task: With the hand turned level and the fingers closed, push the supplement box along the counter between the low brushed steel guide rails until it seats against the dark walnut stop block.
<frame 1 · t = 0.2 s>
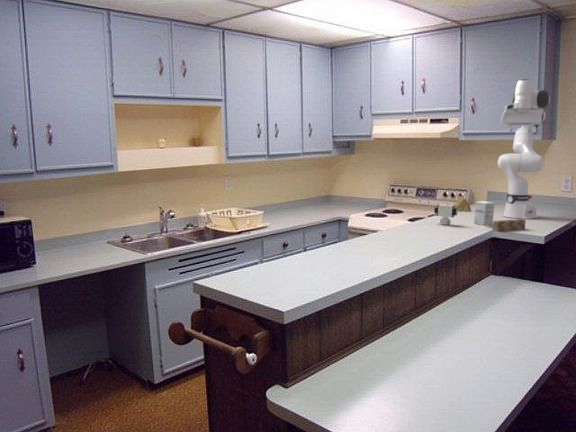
hand: (520, 132, 278), 52 cm above the table, tool tilted 20°, fingers open, 8 cm apart
rock: (462, 211, 340), on the table
walnut dock: (501, 227, 278), on the table
pneumatic valve: (445, 224, 287), on the table
supplement box: (483, 224, 290), on the table
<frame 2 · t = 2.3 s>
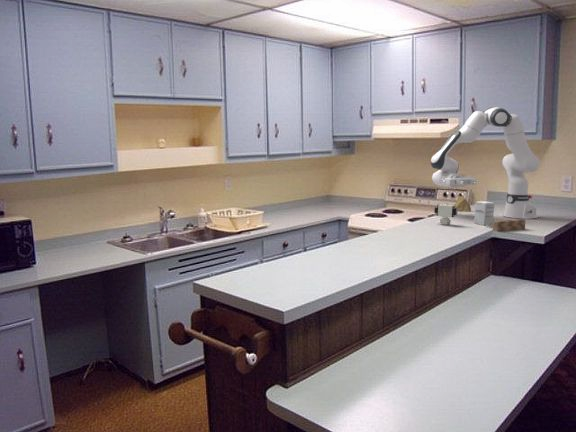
hand: (469, 182, 298), 22 cm above the table, tool horizontal, fingers open, 8 cm apart
nothing on the table moved.
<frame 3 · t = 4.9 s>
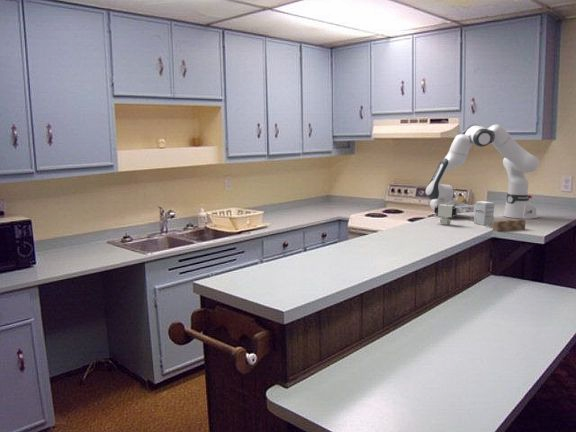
hand: (467, 211, 301), 6 cm above the table, tool horizontal, fingers closed
nothing on the table moved.
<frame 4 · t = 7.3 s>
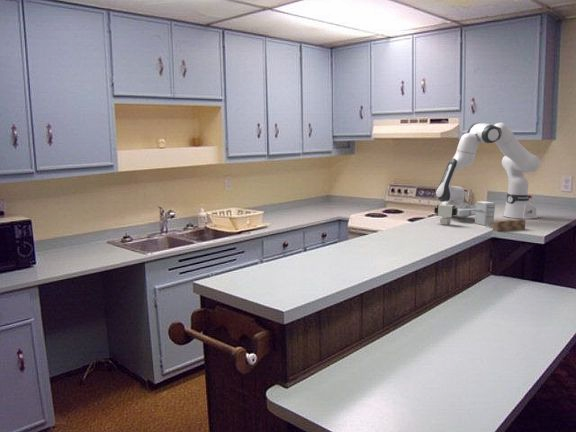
hand: (479, 213, 292), 5 cm above the table, tool horizontal, fingers closed
supplement box: (483, 224, 290), on the table, touching gripper
everything else where it was.
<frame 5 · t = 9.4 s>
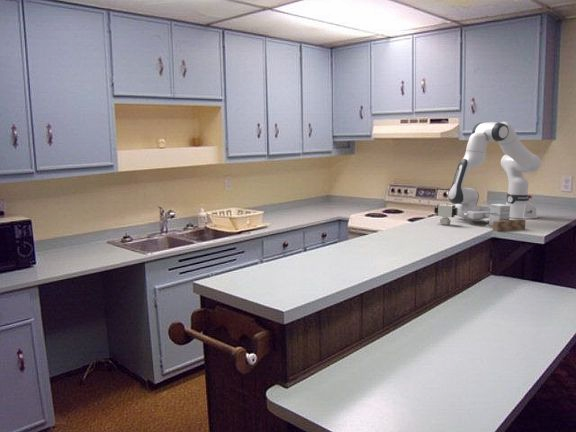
hand: (494, 216, 282), 6 cm above the table, tool horizontal, fingers closed, pressing on supplement box
supplement box: (498, 227, 280), on the table, touching gripper
everything else where it was.
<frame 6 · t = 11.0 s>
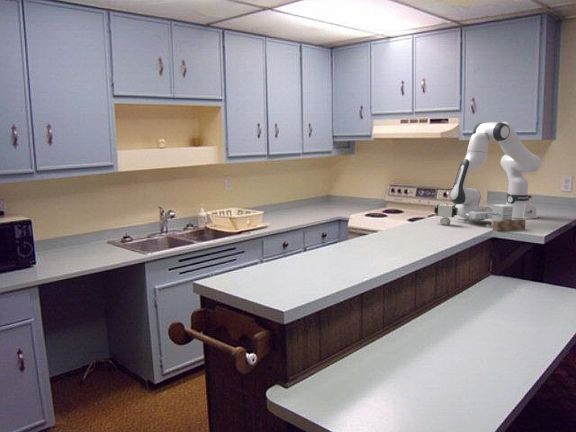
hand: (496, 216, 281), 6 cm above the table, tool horizontal, fingers closed
supplement box: (500, 228, 278), on the table
everything else where it was.
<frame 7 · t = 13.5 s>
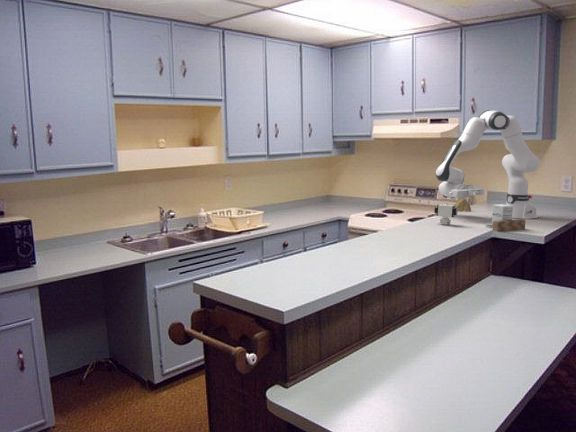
hand: (477, 193, 295), 16 cm above the table, tool horizontal, fingers closed
nothing on the table moved.
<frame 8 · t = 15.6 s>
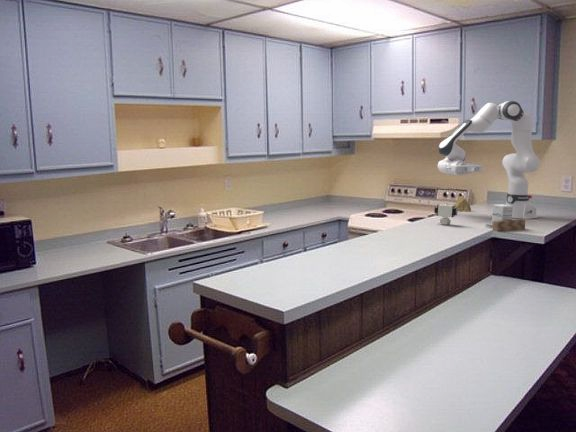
hand: (475, 169, 296), 30 cm above the table, tool horizontal, fingers closed
nothing on the table moved.
at the end: supplement box 0.8 cm off-centre on the walnut dock, point 0.0 cm above the walnut dock's base; supplement box tilted 0°; supplement box moved 13.2 cm from its start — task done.
